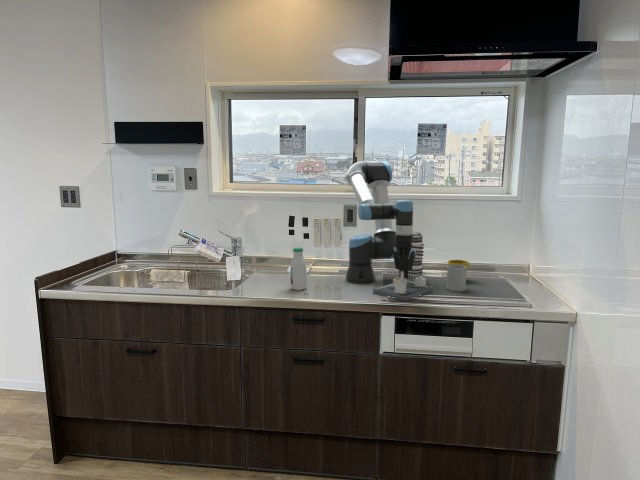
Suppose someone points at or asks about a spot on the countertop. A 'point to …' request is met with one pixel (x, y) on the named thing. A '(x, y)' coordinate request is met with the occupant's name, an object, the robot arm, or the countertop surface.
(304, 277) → the milk bottle
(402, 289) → the breaker left
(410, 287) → the panel
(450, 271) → the mug
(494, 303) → the countertop surface
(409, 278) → the decorative candle
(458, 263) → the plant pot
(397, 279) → the breaker mid
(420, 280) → the breaker right
